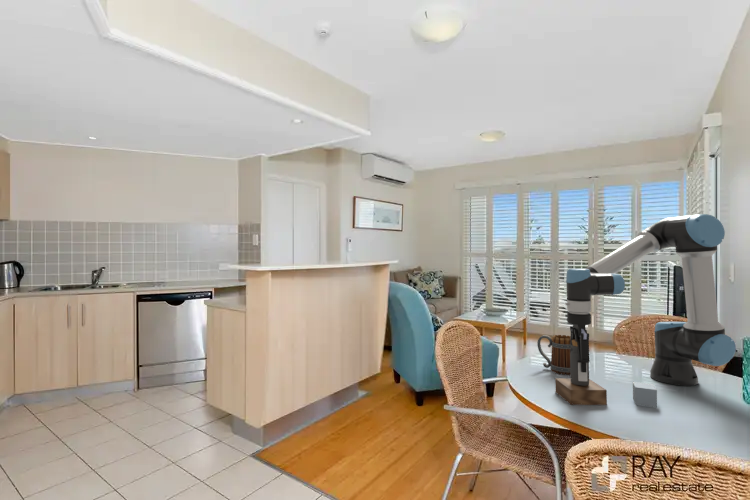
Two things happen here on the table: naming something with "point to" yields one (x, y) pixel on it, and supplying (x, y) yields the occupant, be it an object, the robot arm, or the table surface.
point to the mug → (558, 354)
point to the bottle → (576, 366)
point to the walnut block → (581, 392)
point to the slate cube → (644, 394)
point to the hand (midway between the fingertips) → (579, 377)
